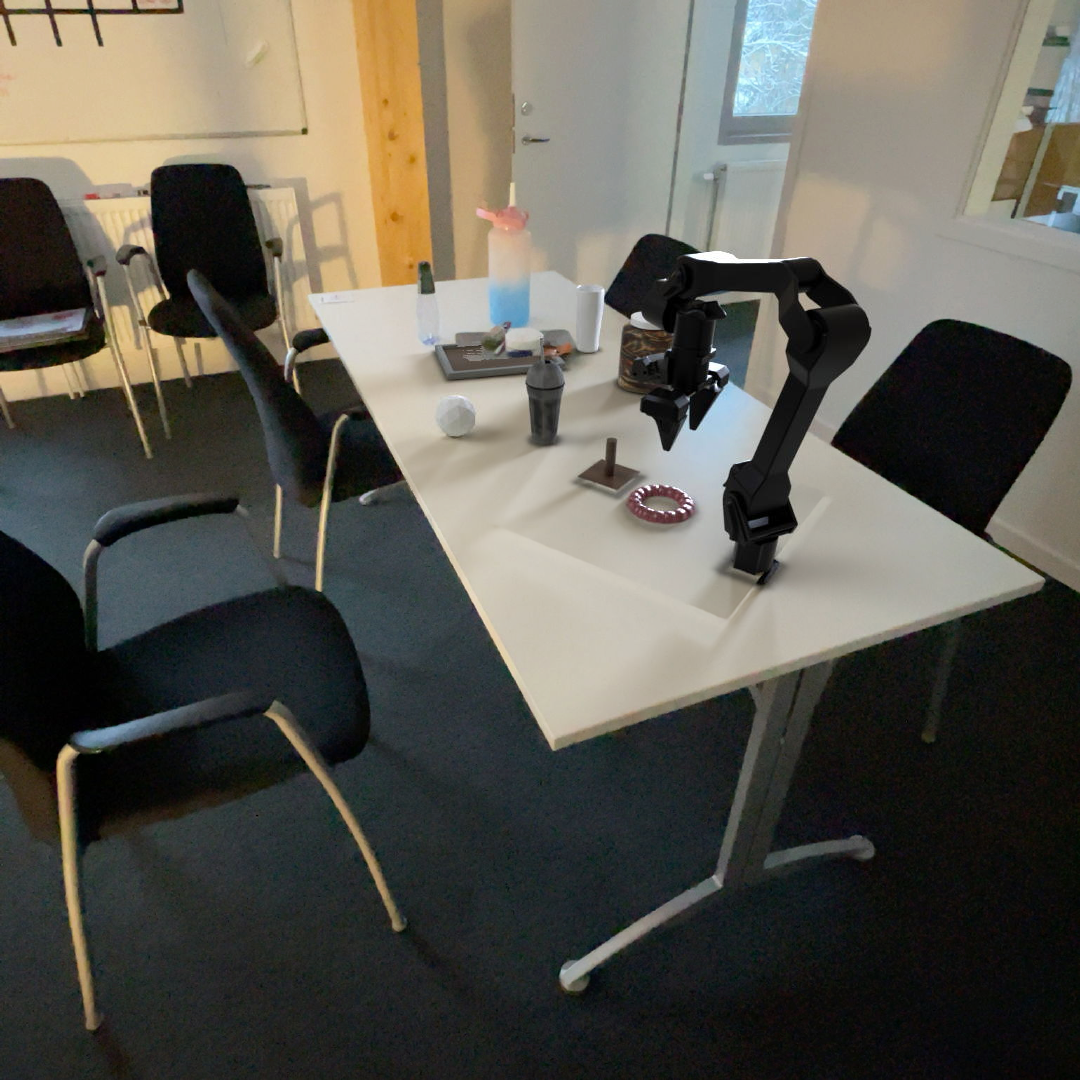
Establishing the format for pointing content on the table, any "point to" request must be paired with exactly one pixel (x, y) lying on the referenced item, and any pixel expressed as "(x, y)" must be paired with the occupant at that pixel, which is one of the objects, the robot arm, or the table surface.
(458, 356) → the gray tray
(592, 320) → the drinking glass
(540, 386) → the beverage cup
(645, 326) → the jar
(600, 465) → the stand
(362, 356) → the table surface
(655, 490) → the ring
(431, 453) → the table surface
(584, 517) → the table surface
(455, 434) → the geometric ball
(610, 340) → the table surface
